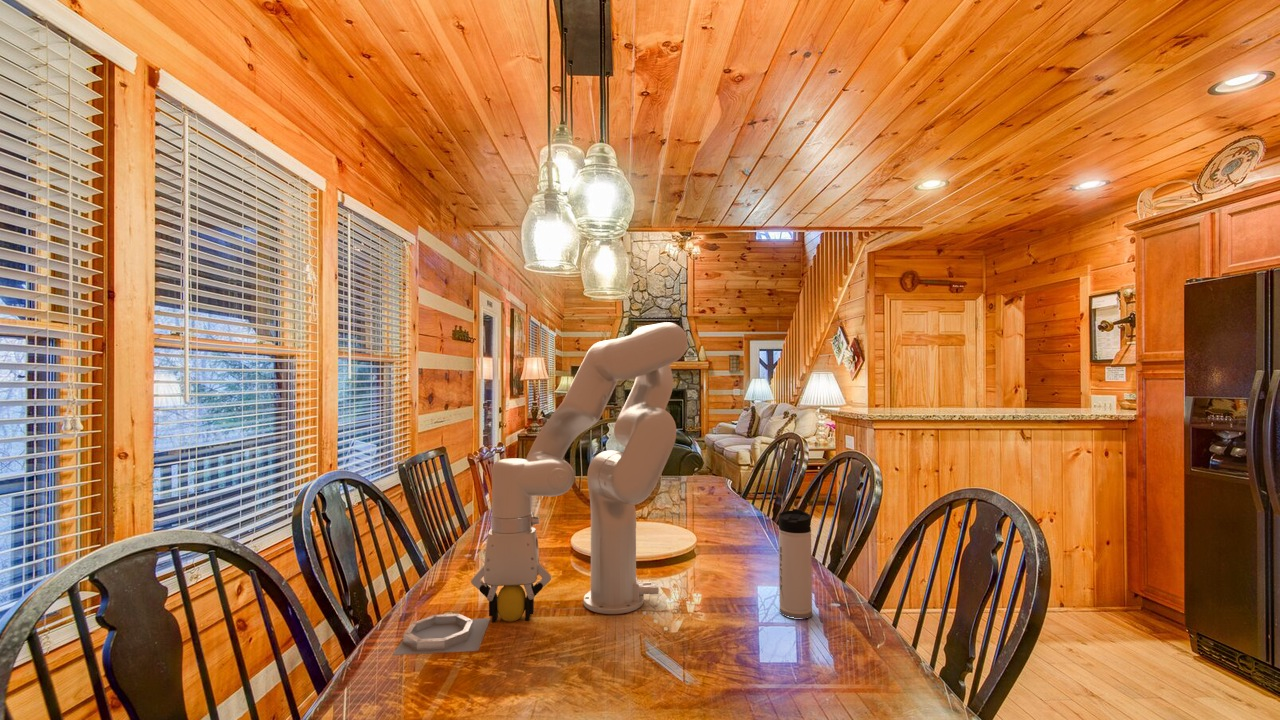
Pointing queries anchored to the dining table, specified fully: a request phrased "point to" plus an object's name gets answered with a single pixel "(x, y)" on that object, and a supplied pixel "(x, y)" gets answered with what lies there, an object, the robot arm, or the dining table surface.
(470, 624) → the ring
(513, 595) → the lemon
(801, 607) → the travel mug
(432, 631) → the board
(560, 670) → the dining table surface
